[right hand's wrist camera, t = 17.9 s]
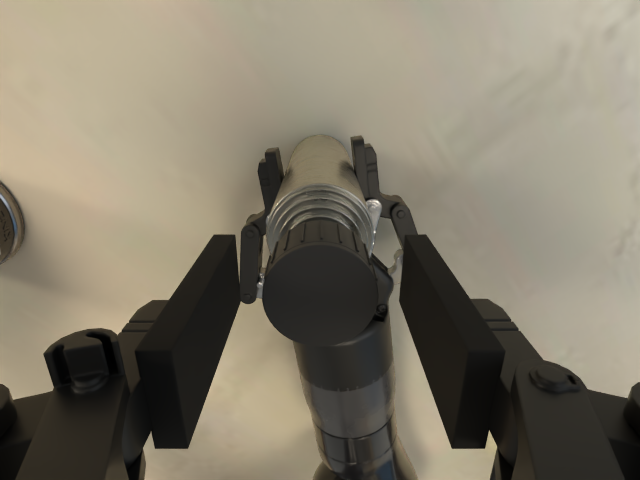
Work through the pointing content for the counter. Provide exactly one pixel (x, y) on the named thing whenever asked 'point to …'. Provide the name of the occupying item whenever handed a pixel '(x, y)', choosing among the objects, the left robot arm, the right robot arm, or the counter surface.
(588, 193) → the counter surface
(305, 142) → the bottle
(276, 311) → the cap
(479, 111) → the counter surface
